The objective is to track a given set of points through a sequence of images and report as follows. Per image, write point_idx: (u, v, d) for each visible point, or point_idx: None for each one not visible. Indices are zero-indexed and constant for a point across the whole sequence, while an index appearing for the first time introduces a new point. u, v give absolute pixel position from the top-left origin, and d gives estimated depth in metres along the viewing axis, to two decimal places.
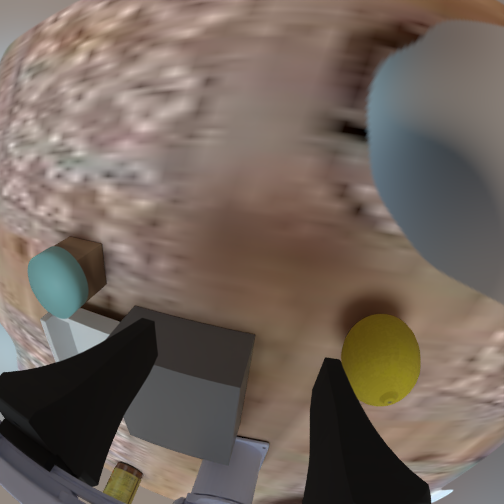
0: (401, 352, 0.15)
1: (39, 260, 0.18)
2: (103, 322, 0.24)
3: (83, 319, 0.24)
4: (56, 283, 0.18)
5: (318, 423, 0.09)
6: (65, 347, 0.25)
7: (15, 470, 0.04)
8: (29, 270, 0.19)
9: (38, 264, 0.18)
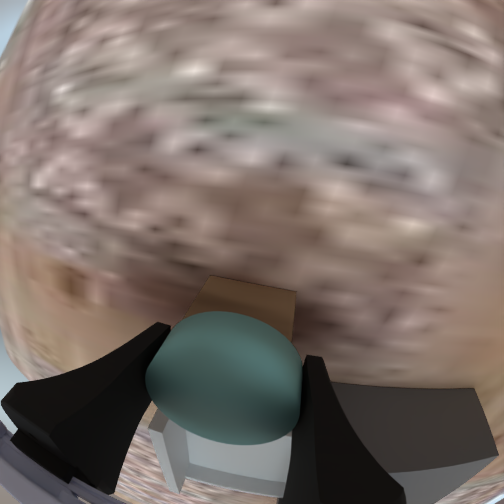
0: None
1: (206, 358, 0.08)
2: None
3: None
4: (254, 400, 0.09)
5: (298, 421, 0.09)
6: (178, 447, 0.15)
7: (15, 470, 0.04)
8: (154, 370, 0.09)
9: (198, 364, 0.08)
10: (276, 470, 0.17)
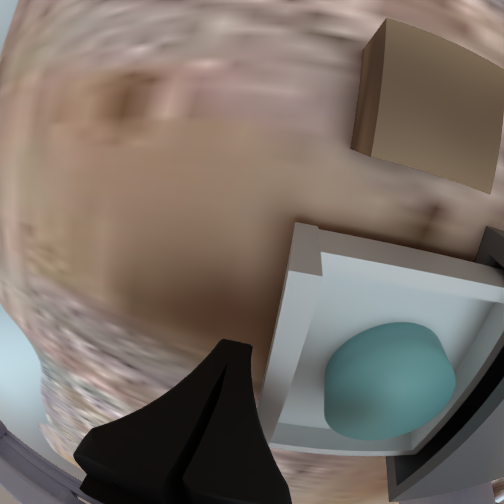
0: None
1: (448, 384, 0.09)
2: (456, 265, 0.09)
3: (415, 262, 0.08)
4: (409, 416, 0.10)
5: None
6: None
7: (15, 470, 0.04)
8: (421, 360, 0.08)
9: (440, 382, 0.09)
10: None
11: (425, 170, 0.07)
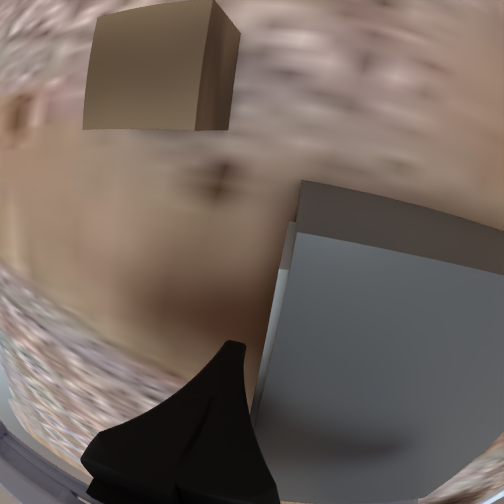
0: None
1: None
2: None
3: None
4: None
5: None
6: None
7: (15, 470, 0.04)
8: None
9: None
10: None
11: (120, 127, 0.07)
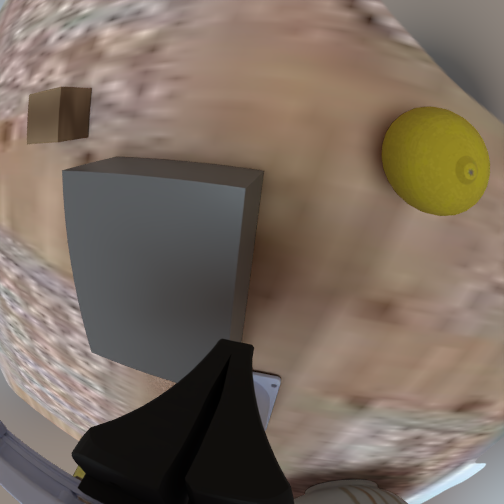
0: (459, 116, 0.09)
1: None
2: None
3: None
4: None
5: None
6: None
7: (15, 470, 0.04)
8: None
9: None
10: None
11: (38, 142, 0.16)
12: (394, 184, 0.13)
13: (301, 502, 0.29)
